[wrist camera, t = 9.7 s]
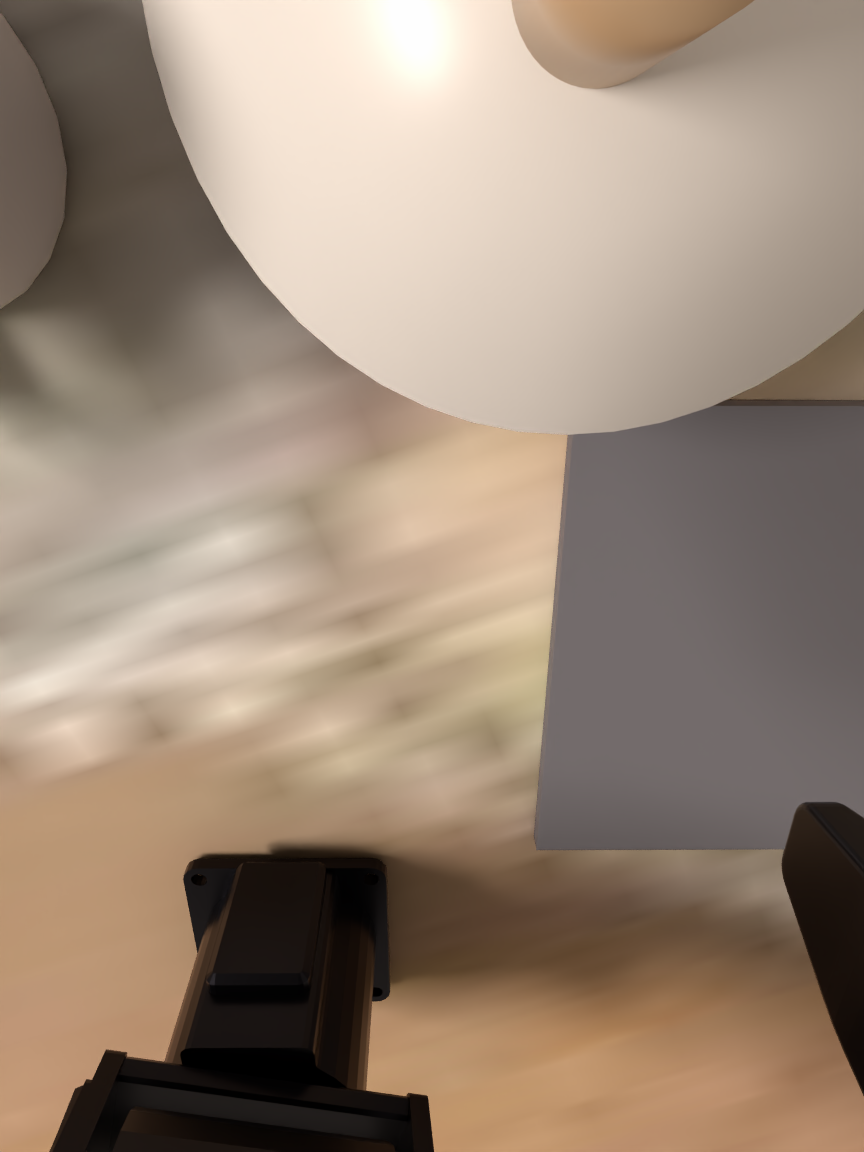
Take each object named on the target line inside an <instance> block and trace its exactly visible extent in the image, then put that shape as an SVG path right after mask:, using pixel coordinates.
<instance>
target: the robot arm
mask: <svg viewBox="0 0 864 1152" xmlns="http://www.w3.org/2000/svg"><path fill="white" fill-rule="evenodd" d="M370 873H371V874H375V875H368V874H370ZM198 874H200V875H198ZM782 874H783V879H784V882H785V886H786V889H787V892H788V895H789V898H790V901H791V904H792V907H793V910H794V913H795V916H796V919H797V922H798V925H799V928H800V931H801V934H802V937H803V940H804V943H805V946H806V949H807V952H808V955H809V958H810V961H811V964H812V967H813V970H814V973H815V976H816V979H817V982H818V985H819V988H820V991H821V994H822V997H823V1000H824V1002H825V1005H826V1008H827V1011H828V1013H829V1016H830V1019H831V1022H832V1024H833V1027H834V1029H835V1032H836V1034H837V1036H838V1039H839V1041H840V1043H841V1046H842V1048H843V1051H844V1053H845V1055H846V1057H847V1060H848V1062H849V1064H850V1066H851V1069H852V1071H853V1073H854V1075H855V1077H856V1080H857V1082H858V1084H859V1086H860V1089H861V1091H862V1093H863V1095H864V817H862V816H861V815H859V814H858V813H856V812H855V811H853V810H852V809H850V808H849V807H847V806H845V805H844V804H841V803H838V802H805V803H802V804H800V805H799V806H798V807H797V809H796V811H795V813H794V817H793V820H792V824H791V827H790V831H789V835H788V838H787V842H786V845H785V849H784V852H783V857H782ZM201 875H203V876H201ZM183 880H184V886H185V891H186V896H187V901H188V906H189V911H190V917H191V922H192V927H193V932H194V937H195V942H196V948H197V953H198V954H197V957H196V960H195V964H194V967H193V970H192V973H191V977H190V980H189V983H188V986H187V990H186V993H185V996H184V999H183V1003H182V1006H181V1009H180V1013H179V1016H178V1019H177V1022H176V1026H175V1029H174V1032H173V1035H172V1039H171V1042H170V1045H169V1048H168V1052H167V1055H166V1058H165V1061H164V1062H162V1061H155V1060H148V1059H141V1058H134V1057H127V1052H121V1051H114V1050H106V1051H105V1053H104V1055H103V1057H102V1060H101V1062H100V1064H99V1066H98V1068H97V1070H96V1073H95V1075H94V1077H93V1079H92V1080H89V1079H86V1081H85V1083H84V1085H83V1086H80V1087H78V1088H76V1089H75V1090H74V1093H73V1095H72V1098H71V1100H70V1103H69V1105H68V1108H67V1110H66V1113H65V1115H64V1118H63V1120H62V1123H61V1125H60V1128H59V1130H58V1133H57V1135H56V1138H55V1140H54V1142H53V1145H52V1147H51V1149H50V1151H49V1152H434V1147H433V1138H432V1129H431V1120H430V1111H429V1102H428V1096H427V1095H420V1094H413V1093H408V1094H407V1096H399V1095H392V1094H385V1093H378V1092H372V1091H366V1083H367V1068H368V1054H369V1039H370V1024H371V1009H372V1001H382V1000H384V999H386V998H387V997H388V996H389V993H390V956H389V923H388V890H387V868H386V865H385V864H384V863H383V862H382V861H380V860H378V859H373V858H297V859H196V860H193V861H191V862H190V863H189V864H188V866H187V868H186V871H185V874H184V879H183Z"/></svg>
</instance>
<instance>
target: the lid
mask: <svg viewBox="0 0 864 1152" xmlns="http://www.w3.org/2000/svg"><path fill="white" fill-rule="evenodd" d="M142 3H143V8H144V14H145V19H146V24H147V30H148V35H149V40H150V46H151V50H152V54H153V57H154V61H155V64H156V67H157V71H158V74H159V77H160V81H161V84H162V87H163V91H164V94H165V97H166V101H167V104H168V108H169V111H170V114H171V118H172V120H173V122H174V125H175V127H176V129H177V132H178V134H179V137H180V139H181V141H182V144H183V146H184V149H185V151H186V153H187V156H188V158H189V161H190V163H191V165H192V168H193V170H194V172H195V175H196V177H197V179H198V181H199V183H200V185H201V187H202V188H203V190H204V192H205V194H206V196H207V197H208V199H209V201H210V203H211V205H212V206H213V208H214V210H215V212H216V214H217V215H218V217H219V219H220V221H221V223H222V224H223V226H224V228H225V230H226V232H227V233H228V235H229V236H230V238H231V239H232V240H233V242H234V243H235V245H236V246H237V247H238V249H239V250H240V252H241V253H242V254H243V256H244V257H245V259H246V260H247V261H248V263H249V264H250V266H251V267H252V268H253V270H254V271H255V273H256V274H257V275H258V277H259V278H260V280H261V281H262V282H263V283H264V284H265V285H266V286H267V288H268V289H269V290H270V291H271V292H272V293H273V294H274V295H275V296H276V297H277V299H278V300H279V301H280V302H281V303H282V304H283V305H284V306H285V307H286V308H287V310H288V311H289V312H290V313H291V314H292V315H293V316H294V317H295V318H296V319H297V321H298V322H299V323H300V324H302V325H303V326H304V327H305V328H306V329H307V330H309V331H310V332H311V333H312V334H313V335H314V336H316V337H317V338H318V339H319V340H320V341H321V342H323V343H324V344H325V345H326V346H327V347H328V348H329V349H331V350H332V351H333V352H334V353H335V354H336V355H338V356H339V357H340V358H342V359H343V360H345V361H346V362H348V363H349V364H351V365H352V366H354V367H355V368H357V369H358V370H360V371H361V372H363V373H364V374H366V375H367V376H369V377H370V378H372V379H373V380H375V381H376V382H378V383H379V384H381V385H382V386H385V387H387V388H389V389H391V390H393V391H395V392H397V393H399V394H401V395H403V396H405V397H407V398H409V399H411V400H413V401H415V402H417V403H419V404H421V405H423V406H425V407H428V408H431V409H434V410H437V411H439V412H442V413H445V414H448V415H451V416H454V417H457V418H460V419H463V420H466V421H469V422H472V423H477V424H482V425H487V426H492V427H497V428H502V429H507V430H512V431H517V432H531V433H546V434H561V435H571V434H586V433H602V432H615V431H620V430H626V429H631V428H636V427H641V426H646V425H652V424H657V423H662V422H665V421H668V420H671V419H675V418H678V417H681V416H684V415H687V414H690V413H693V412H696V411H699V410H703V409H706V408H709V407H711V406H713V405H716V404H718V403H720V402H722V401H724V400H727V399H729V398H731V397H733V396H735V395H738V394H740V393H742V392H744V391H746V390H749V389H751V388H753V387H755V386H757V385H759V384H761V383H762V382H764V381H766V380H767V379H769V378H771V377H772V376H774V375H776V374H777V373H779V372H781V371H782V370H784V369H786V368H787V367H789V366H791V365H792V364H794V363H796V362H797V361H799V360H801V359H802V358H804V357H805V356H807V355H808V354H809V353H811V352H812V351H813V350H815V349H816V348H817V347H819V346H820V345H821V344H823V343H824V342H825V341H827V340H828V339H829V338H830V337H832V336H833V335H834V334H836V333H837V332H838V331H840V330H841V329H842V328H844V327H845V326H846V325H848V324H849V323H850V322H851V321H852V320H853V319H854V318H855V317H857V316H858V315H859V314H860V313H861V312H862V311H863V310H864V0H142Z"/></svg>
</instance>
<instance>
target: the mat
mask: <svg viewBox="0 0 864 1152" xmlns="http://www.w3.org/2000/svg"><path fill="white" fill-rule="evenodd" d="M805 802H838V803H841V804H844V805H845V806H847V807H849V808H850V809H852V810H853V811H855V812H856V813H858V814H859V815H861V816H862V817H864V400H724V401H722V402H720V403H718V404H716V405H713V406H711V407H709V408H706V409H703V410H699V411H696V412H693V413H690V414H687V415H684V416H681V417H678V418H675V419H671V420H668V421H665V422H662V423H657V424H652V425H646V426H641V427H636V428H631V429H626V430H620V431H615V432H602V433H586V434H571V435H568V439H567V451H566V463H565V475H564V487H563V498H562V510H561V522H560V534H559V546H558V558H557V569H556V581H555V593H554V605H553V617H552V629H551V640H550V652H549V664H548V676H547V688H546V700H545V711H544V723H543V735H542V747H541V759H540V771H539V782H538V794H537V806H536V818H535V830H534V839H535V844H536V850H706V849H785V845H786V842H787V838H788V835H789V831H790V827H791V824H792V820H793V817H794V813H795V811H796V809H797V807H798V806H799V805H800V804H802V803H805Z"/></svg>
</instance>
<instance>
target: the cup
mask: <svg viewBox="0 0 864 1152" xmlns="http://www.w3.org/2000/svg"><path fill="white" fill-rule="evenodd" d="M66 178H67V168H66V163H65V157H64V151H63V145H62V140H61V134H60V128H59V122H58V118H57V115H56V113H55V110H54V108H53V105H52V103H51V101H50V98H49V96H48V93H47V91H46V88H45V86H44V83H43V81H42V79H41V76H40V74H39V71H38V69H37V66H36V64H35V63H34V61H33V60H32V58H31V57H30V55H29V54H28V52H27V51H26V49H25V48H24V46H23V45H22V43H21V42H20V40H19V39H18V37H17V36H16V34H15V33H14V31H13V30H12V28H11V27H10V25H9V24H8V22H7V20H6V19H5V17H4V16H3V14H2V13H1V12H0V309H1V308H3V307H4V306H6V305H7V304H9V303H10V302H11V301H13V300H14V299H16V298H17V297H19V296H20V295H22V294H23V293H25V292H26V291H27V290H28V288H29V287H30V286H31V284H32V283H33V282H34V280H35V279H36V278H37V276H38V275H39V273H40V272H41V271H42V269H43V268H44V267H45V265H46V264H47V263H48V261H49V260H50V258H51V255H52V252H53V249H54V246H55V243H56V240H57V238H58V235H59V232H60V229H61V226H62V223H63V220H64V212H65V195H66Z"/></svg>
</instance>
